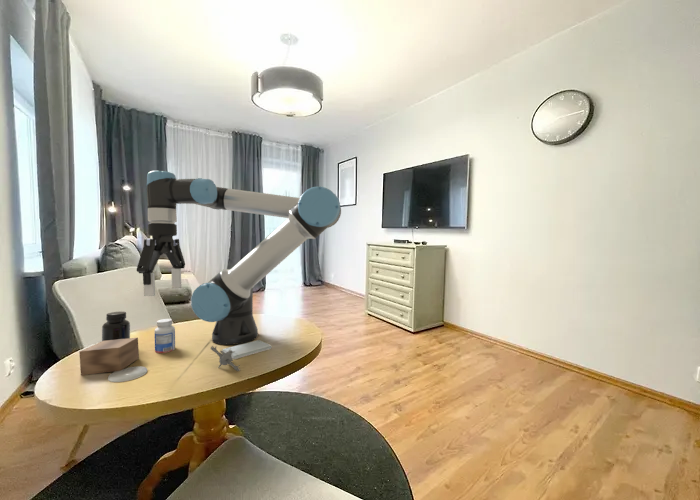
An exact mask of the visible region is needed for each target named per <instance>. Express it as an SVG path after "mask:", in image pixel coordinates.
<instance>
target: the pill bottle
mask: <svg viewBox="0 0 700 500" xmlns="http://www.w3.org/2000/svg"><path fill="white" fill-rule="evenodd" d="M156 326H157V327H155V329H154V332H153V333H154V352H155V353H156V354H166V353H170V352H173V351H174V350H175V349H176V327H175V326H174V325H173V320H172V318H163V319H158V320H157V321H156Z"/></svg>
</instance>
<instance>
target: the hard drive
mask: <svg viewBox="0 0 700 500" xmlns="http://www.w3.org/2000/svg"><path fill="white" fill-rule="evenodd" d="M230 348H231V350H232V352H234V351H235V352H234V353H233V354H232V355H231V357H232V358H233V360H237V359H240V358H243V357H248V356H252V355H255V354H257V353H261V352H264V351H265V352H266V351H268V350H271V349H272V345H271V344H269V343H267V342H264V341H262V340H260V339H257V340H252V341H249V342H245V343H240V344H236V345H234V346H229V347H225V348H222V349H221V351H223V352H224V353H227V352H228V351H229V350H230Z"/></svg>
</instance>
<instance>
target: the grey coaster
mask: <svg viewBox="0 0 700 500" xmlns="http://www.w3.org/2000/svg"><path fill="white" fill-rule="evenodd" d="M147 372H148V368H147V367H146V366H140V365H139V366H138V365H137V366H130V367H129V366H128V367H125V368H124V369H122V370H121V371H113V372H112V373H111V372H110V374H109V375H108V377H107V380H108V382H111V383H122V382H123V383H124V382H128V381H132V380H136V379H138V378H140V377H143V376H144V375H146V374H147Z"/></svg>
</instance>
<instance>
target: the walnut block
mask: <svg viewBox="0 0 700 500" xmlns="http://www.w3.org/2000/svg"><path fill="white" fill-rule="evenodd" d="M78 353H79V366H80V368H79V369H80V375H81V376H85V375H94V374H95V375H96V374H104V373H111V372H112V373H113V372H115V371H121V370H122V369H124V368H128V367H129V365H131V364H133V363H134V362H136V361H137V360H139V359H140V353H139V338H138V337H130V338H128V339H118V340H107V341H102V340H101V341H99V342H98V343H95V344H93V345H91V346H88V347H86V348H84V349H82V350H80V351H78Z"/></svg>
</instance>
